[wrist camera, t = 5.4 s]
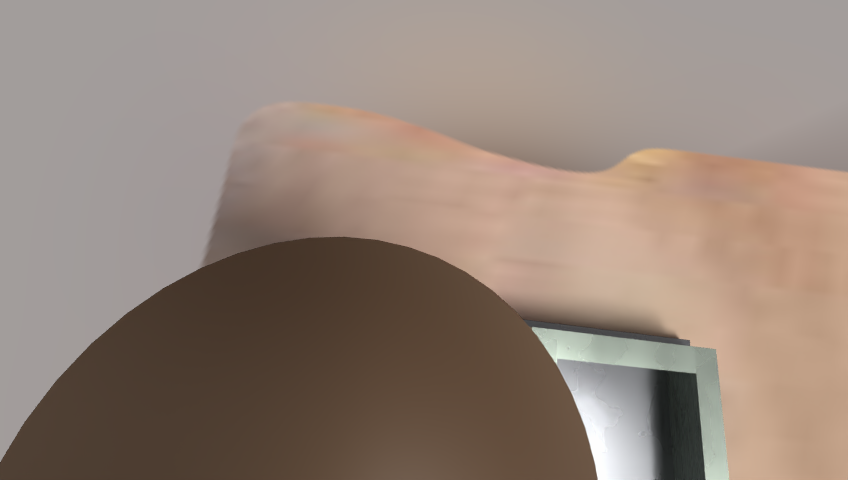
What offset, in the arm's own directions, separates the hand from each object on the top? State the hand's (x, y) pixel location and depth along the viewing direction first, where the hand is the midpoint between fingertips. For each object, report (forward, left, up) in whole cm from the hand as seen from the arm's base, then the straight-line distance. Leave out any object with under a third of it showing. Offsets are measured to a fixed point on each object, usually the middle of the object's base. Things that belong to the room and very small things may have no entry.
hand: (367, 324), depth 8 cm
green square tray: (+4, -12, -7) cm, 14 cm away
